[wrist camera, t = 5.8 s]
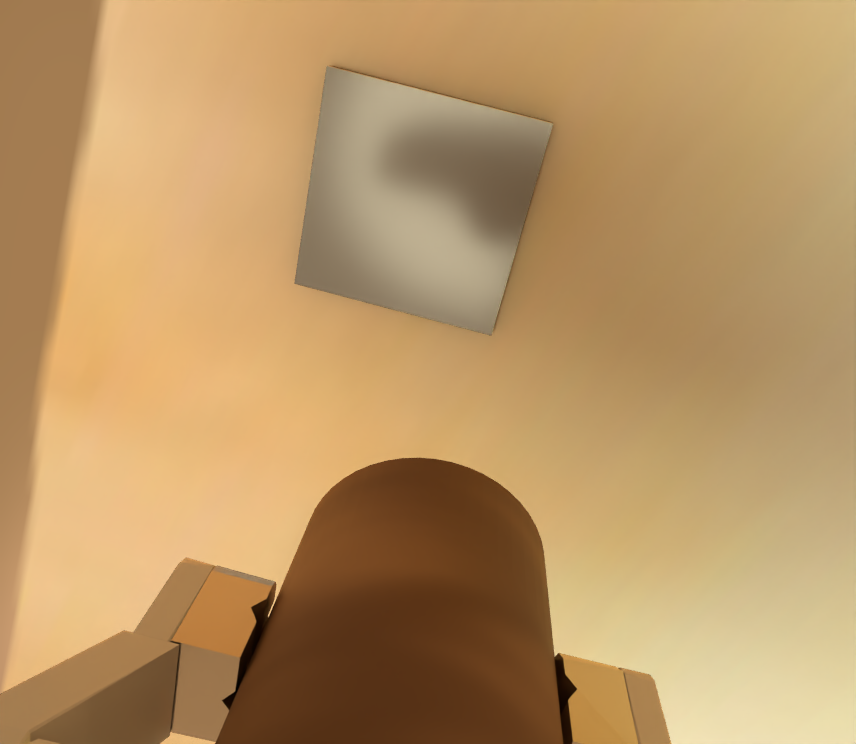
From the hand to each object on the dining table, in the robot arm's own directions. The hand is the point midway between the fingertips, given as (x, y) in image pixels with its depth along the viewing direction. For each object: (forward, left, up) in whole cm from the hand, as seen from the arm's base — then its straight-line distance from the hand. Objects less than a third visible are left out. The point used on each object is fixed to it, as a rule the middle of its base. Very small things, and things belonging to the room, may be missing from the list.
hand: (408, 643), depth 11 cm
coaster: (+3, -3, -20) cm, 21 cm away
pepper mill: (0, 0, -2) cm, 2 cm away
